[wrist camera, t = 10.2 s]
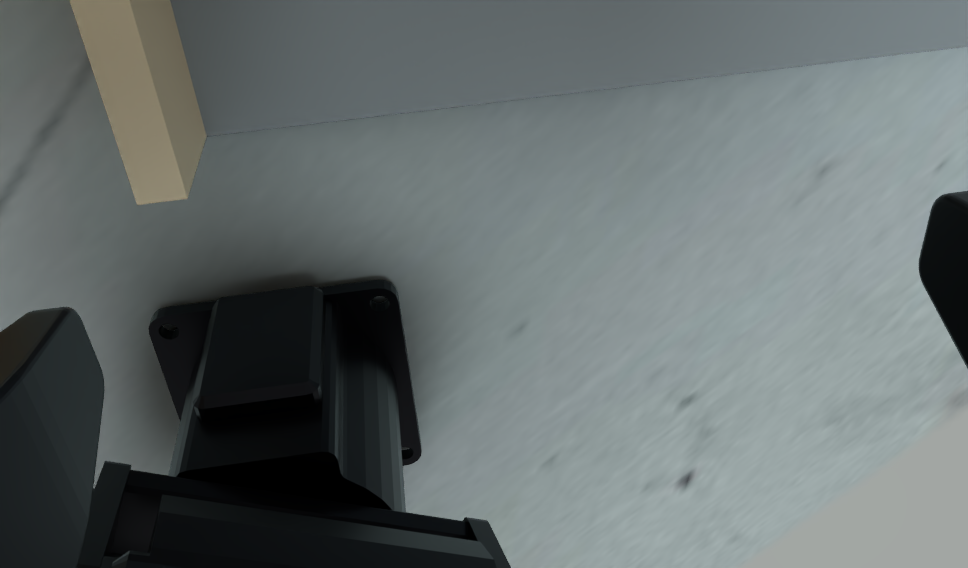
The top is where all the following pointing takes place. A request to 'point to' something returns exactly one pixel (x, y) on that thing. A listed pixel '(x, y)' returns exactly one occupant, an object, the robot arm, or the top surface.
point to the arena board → (440, 58)
